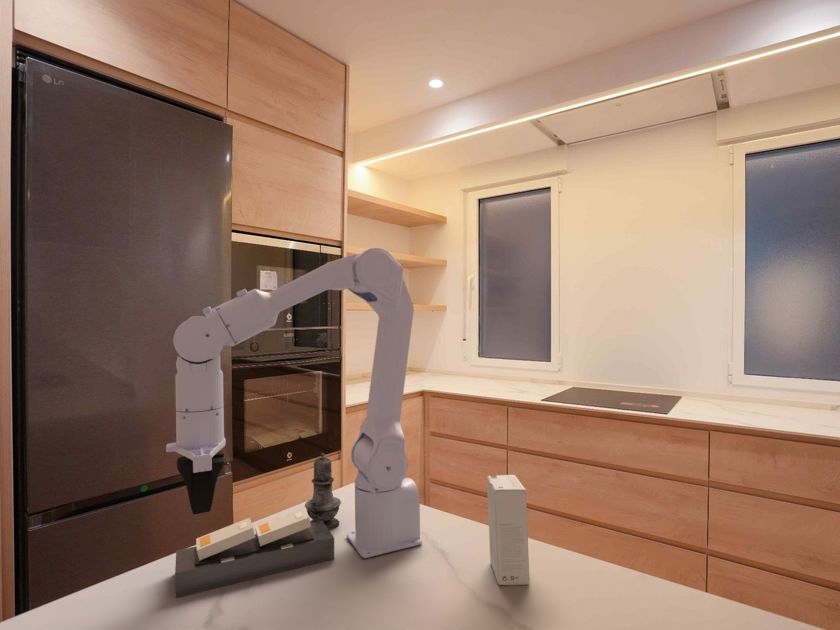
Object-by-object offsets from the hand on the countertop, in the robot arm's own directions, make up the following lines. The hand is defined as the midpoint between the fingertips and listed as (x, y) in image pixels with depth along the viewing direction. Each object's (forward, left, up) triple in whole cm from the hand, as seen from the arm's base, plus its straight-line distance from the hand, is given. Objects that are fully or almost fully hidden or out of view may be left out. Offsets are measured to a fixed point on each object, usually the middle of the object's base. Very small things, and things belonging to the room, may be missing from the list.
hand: (201, 511), depth 62 cm
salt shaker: (-18, -9, -9) cm, 22 cm away
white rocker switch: (-3, 0, -4) cm, 5 cm away
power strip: (-7, 0, -9) cm, 11 cm away
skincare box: (-36, +17, -9) cm, 41 cm away
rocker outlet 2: (-10, 0, -4) cm, 11 cm away
